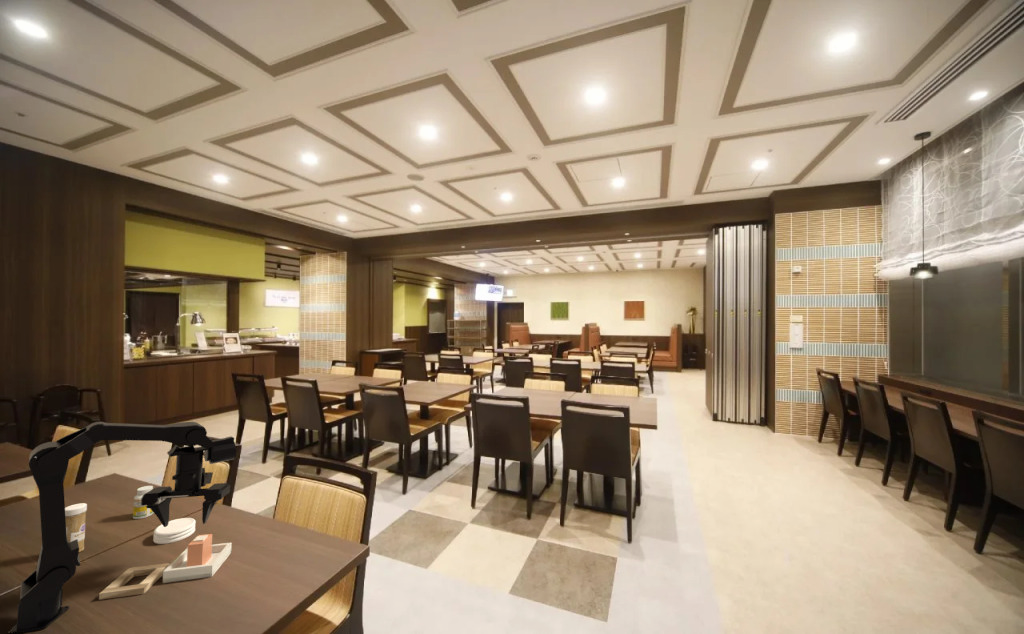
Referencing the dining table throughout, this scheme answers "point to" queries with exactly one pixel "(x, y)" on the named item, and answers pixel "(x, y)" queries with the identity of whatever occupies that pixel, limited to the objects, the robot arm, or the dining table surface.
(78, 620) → the dining table surface
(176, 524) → the coaster
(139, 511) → the supplement bottle
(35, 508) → the dining table surface
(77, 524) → the sprinkles bottle
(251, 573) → the dining table surface
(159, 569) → the holder
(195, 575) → the tray
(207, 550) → the block
